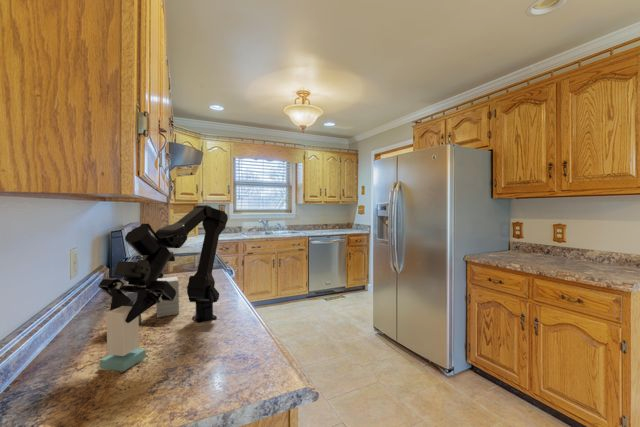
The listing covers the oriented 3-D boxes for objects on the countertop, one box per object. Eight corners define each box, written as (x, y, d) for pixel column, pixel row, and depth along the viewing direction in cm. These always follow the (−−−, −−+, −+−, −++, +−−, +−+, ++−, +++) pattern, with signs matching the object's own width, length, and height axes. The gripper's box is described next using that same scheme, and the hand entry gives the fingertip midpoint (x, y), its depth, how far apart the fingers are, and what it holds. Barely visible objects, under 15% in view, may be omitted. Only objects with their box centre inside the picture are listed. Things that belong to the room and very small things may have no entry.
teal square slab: (123, 354, 75) (123, 347, 75) (145, 357, 74) (145, 349, 74) (100, 368, 69) (100, 359, 69) (123, 371, 68) (123, 362, 68)
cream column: (123, 345, 74) (122, 305, 74) (138, 347, 73) (138, 307, 73) (107, 354, 70) (106, 312, 69) (123, 356, 69) (122, 313, 68)
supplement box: (178, 308, 115) (177, 276, 115) (179, 314, 109) (178, 280, 108) (156, 311, 112) (156, 278, 111) (156, 317, 105) (155, 282, 105)
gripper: (104, 247, 77) (60, 302, 66) (167, 248, 73) (131, 308, 62) (129, 271, 84) (93, 324, 74) (188, 273, 81) (159, 329, 70)
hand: (118, 321), depth 70 cm, fingers closed on cream column, 4 cm apart
